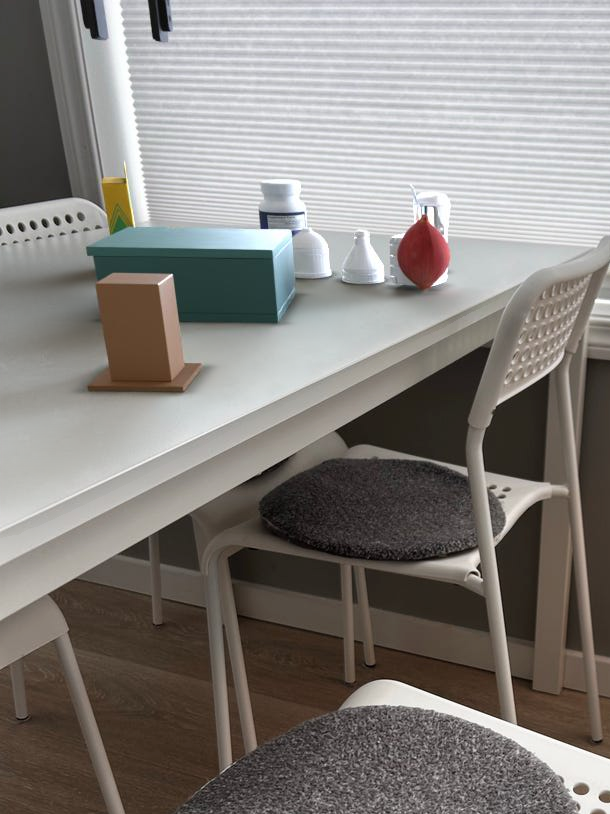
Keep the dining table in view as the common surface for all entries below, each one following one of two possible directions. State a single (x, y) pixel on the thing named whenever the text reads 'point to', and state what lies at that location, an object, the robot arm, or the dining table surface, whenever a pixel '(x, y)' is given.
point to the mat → (146, 382)
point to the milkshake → (432, 209)
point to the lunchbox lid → (192, 243)
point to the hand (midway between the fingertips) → (130, 38)
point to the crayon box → (118, 203)
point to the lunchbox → (218, 284)
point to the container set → (348, 259)
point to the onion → (423, 254)
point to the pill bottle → (282, 206)
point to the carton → (140, 326)
